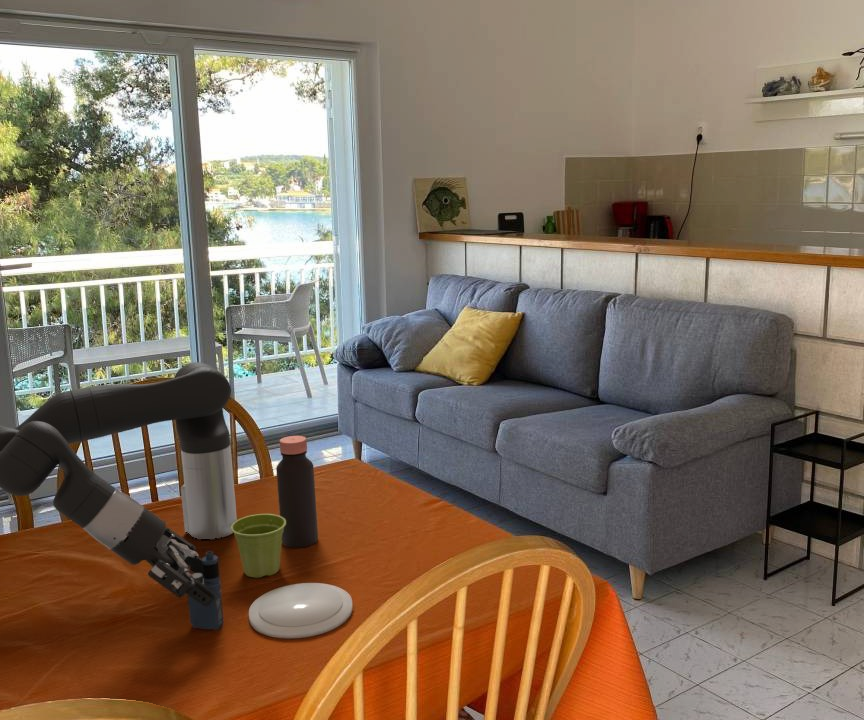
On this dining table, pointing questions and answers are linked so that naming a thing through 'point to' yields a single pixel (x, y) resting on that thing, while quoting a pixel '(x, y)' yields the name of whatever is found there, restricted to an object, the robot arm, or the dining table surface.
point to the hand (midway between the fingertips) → (212, 588)
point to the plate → (300, 610)
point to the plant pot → (259, 543)
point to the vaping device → (213, 613)
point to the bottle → (297, 493)
